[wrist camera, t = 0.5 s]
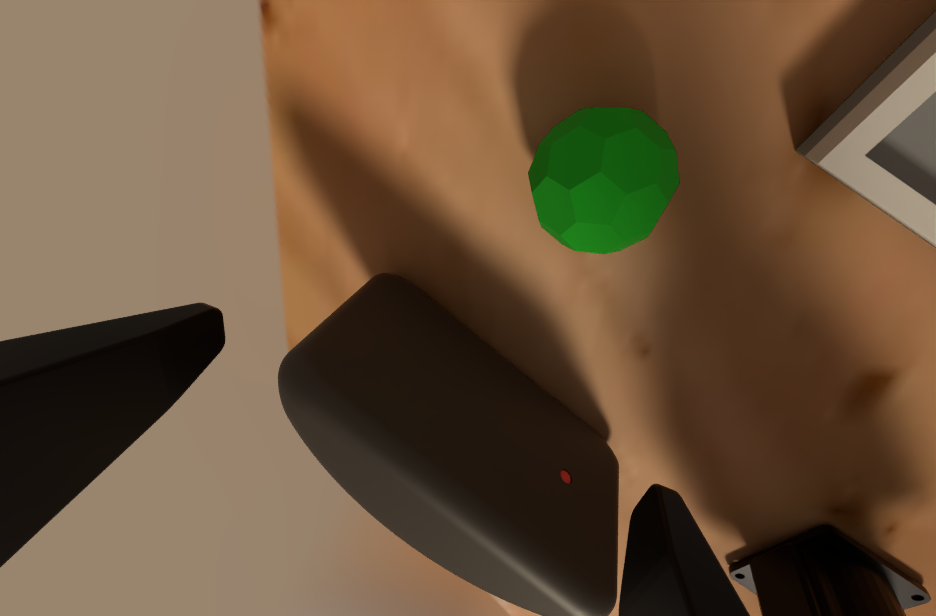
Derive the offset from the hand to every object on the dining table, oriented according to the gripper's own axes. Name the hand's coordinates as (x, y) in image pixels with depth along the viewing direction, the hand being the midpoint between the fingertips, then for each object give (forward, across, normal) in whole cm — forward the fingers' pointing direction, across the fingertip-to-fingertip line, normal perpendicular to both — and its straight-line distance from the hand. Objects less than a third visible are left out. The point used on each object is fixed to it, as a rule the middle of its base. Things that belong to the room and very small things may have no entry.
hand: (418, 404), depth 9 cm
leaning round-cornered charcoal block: (+13, -1, +8) cm, 16 cm away
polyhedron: (+13, -2, -3) cm, 13 cm away
